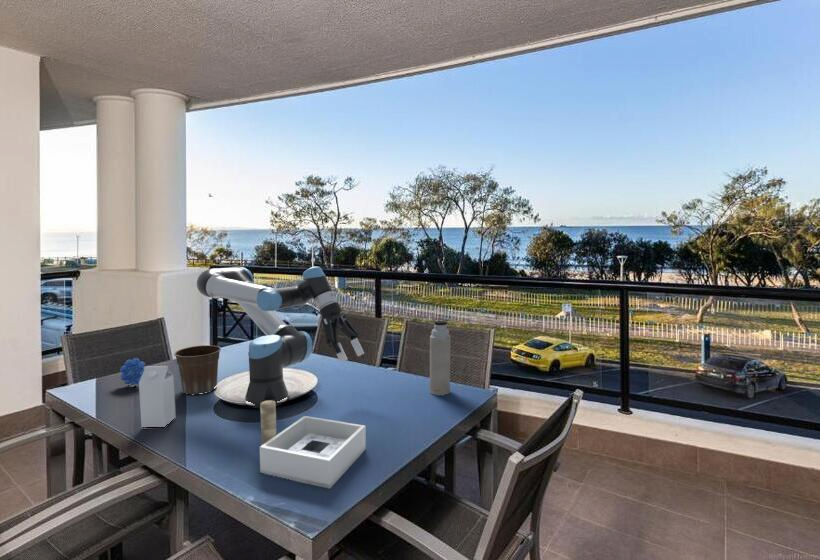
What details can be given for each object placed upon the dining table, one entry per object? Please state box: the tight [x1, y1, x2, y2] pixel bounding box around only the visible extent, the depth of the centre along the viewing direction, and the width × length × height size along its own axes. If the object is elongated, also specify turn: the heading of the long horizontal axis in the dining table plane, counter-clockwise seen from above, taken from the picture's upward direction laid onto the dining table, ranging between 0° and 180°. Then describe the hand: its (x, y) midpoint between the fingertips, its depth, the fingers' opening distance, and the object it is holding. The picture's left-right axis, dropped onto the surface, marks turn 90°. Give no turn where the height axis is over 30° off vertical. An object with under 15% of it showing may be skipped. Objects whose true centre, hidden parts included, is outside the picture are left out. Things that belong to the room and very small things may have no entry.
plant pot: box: [174, 344, 222, 395], centre depth 164 cm, size 16×16×16 cm
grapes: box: [119, 357, 146, 386], centre depth 168 cm, size 12×7×12 cm, turn 82°
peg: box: [259, 400, 277, 446], centre depth 116 cm, size 4×4×14 cm
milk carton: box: [138, 365, 176, 428], centre depth 133 cm, size 7×7×19 cm
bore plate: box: [288, 433, 346, 458], centre depth 112 cm, size 12×12×3 cm
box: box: [259, 415, 367, 490], centre depth 111 cm, size 20×20×7 cm
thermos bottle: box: [429, 320, 452, 396], centre depth 162 cm, size 8×8×28 cm
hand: (353, 358), depth 150 cm, fingers open, 13 cm apart
